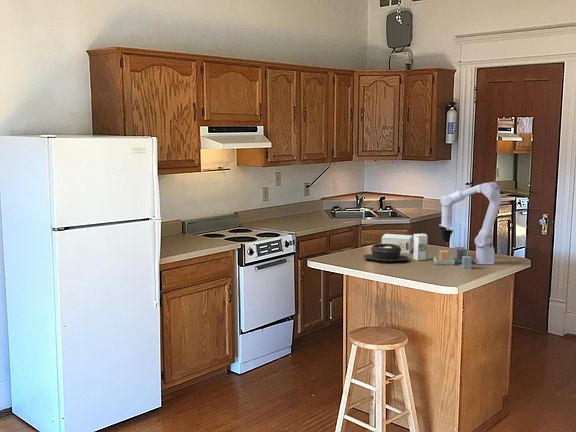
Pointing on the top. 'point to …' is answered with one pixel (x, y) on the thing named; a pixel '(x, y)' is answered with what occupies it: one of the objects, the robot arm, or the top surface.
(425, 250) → the syrup box
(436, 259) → the sage tray
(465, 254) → the grey housing
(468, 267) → the slate block
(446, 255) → the terracotta block
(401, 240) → the supplement box
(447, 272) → the top surface
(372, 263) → the top surface
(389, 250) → the black round brimmed piece
